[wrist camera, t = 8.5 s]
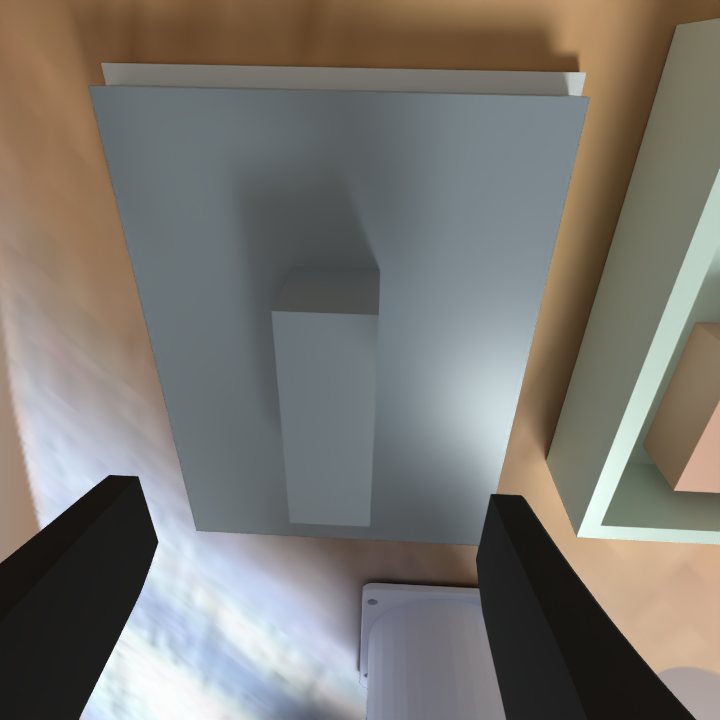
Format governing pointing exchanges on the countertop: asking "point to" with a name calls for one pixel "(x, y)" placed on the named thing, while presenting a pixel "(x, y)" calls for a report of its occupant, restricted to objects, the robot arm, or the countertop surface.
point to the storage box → (655, 330)
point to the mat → (345, 78)
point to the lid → (340, 293)
